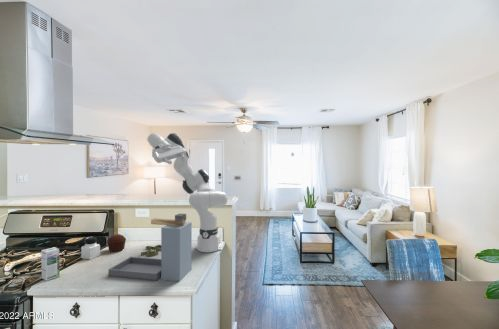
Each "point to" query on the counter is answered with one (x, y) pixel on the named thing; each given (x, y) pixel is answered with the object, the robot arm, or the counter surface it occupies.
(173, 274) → the slate stand
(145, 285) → the counter surface
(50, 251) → the syrup box
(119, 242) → the muffin
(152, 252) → the cookie cutter
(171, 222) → the oak handled hammer
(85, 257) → the medicine bottle
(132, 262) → the charcoal tray
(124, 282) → the counter surface
